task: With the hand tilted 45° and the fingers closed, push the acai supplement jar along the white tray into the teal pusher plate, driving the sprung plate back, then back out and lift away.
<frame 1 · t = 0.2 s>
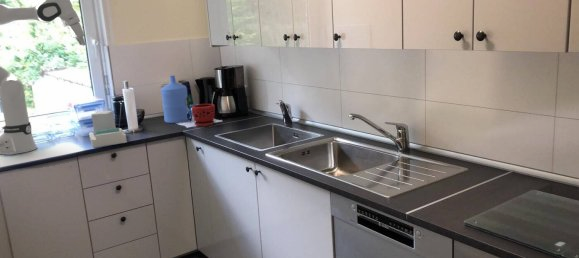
hand: (83, 45, 283), 51 cm above the worktop, tool tilted 20°, fingers open, 8 cm apart
white tray: (108, 141, 285), on the worktop
plant pot: (205, 125, 310), on the worktop
pusher: (108, 136, 279), point 4 cm above the worktop, slide at 5.0 cm
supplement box: (106, 139, 291), on the worktop
water jug: (177, 121, 327), on the worktop
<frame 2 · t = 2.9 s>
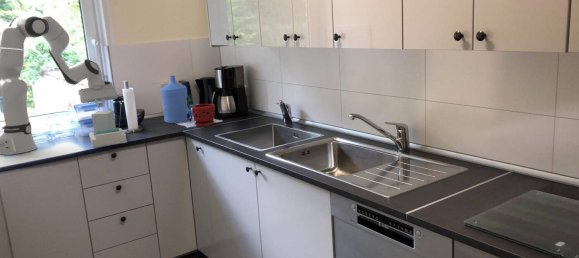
hand: (100, 106, 300), 16 cm above the worktop, tool tilted 45°, fingers closed
nothing on the worktop moved.
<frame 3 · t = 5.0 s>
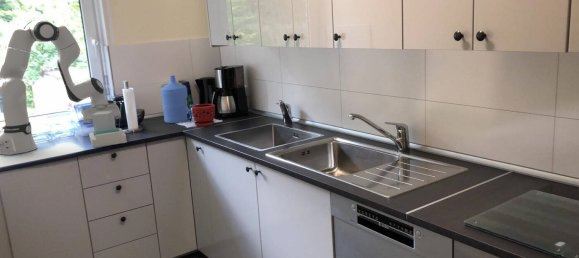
hand: (104, 125, 294), 6 cm above the worktop, tool tilted 45°, fingers closed
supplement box: (106, 139, 290), on the worktop, touching gripper
everything else where it was.
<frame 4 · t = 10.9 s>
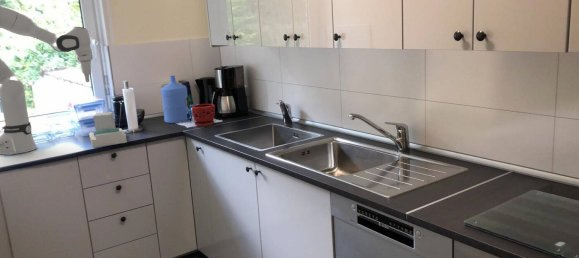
hand: (87, 81, 291), 31 cm above the worktop, tool pointing down, fingers closed
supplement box: (107, 140, 286), on the worktop
everything else where it was.
at the end: pusher slide at 5.0 cm; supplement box 1.9 cm from the white tray (horizontally); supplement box tilted 0° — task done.
